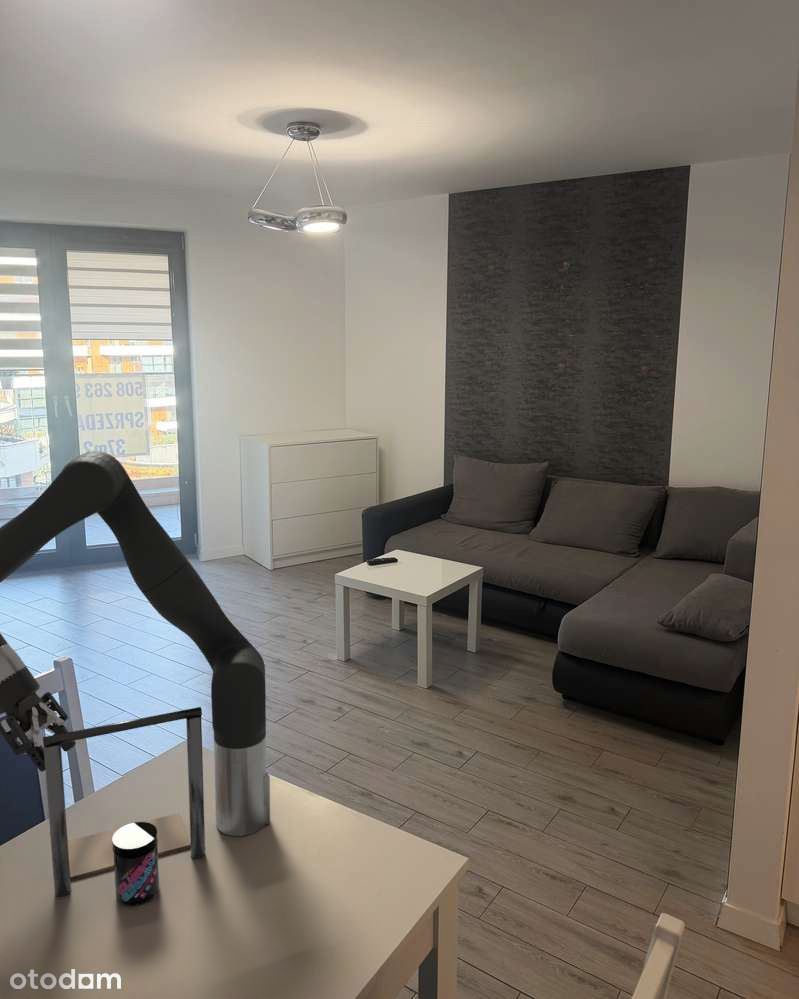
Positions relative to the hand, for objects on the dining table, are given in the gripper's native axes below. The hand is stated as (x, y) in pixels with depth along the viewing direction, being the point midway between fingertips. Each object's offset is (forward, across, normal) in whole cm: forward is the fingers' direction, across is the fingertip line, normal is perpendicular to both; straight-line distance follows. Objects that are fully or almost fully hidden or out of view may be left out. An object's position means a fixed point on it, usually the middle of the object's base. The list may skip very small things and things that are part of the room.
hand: (59, 757), depth 126 cm
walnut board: (+20, +5, +2) cm, 21 cm away
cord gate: (+23, -2, 0) cm, 23 cm away
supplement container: (+25, -6, -1) cm, 26 cm away
